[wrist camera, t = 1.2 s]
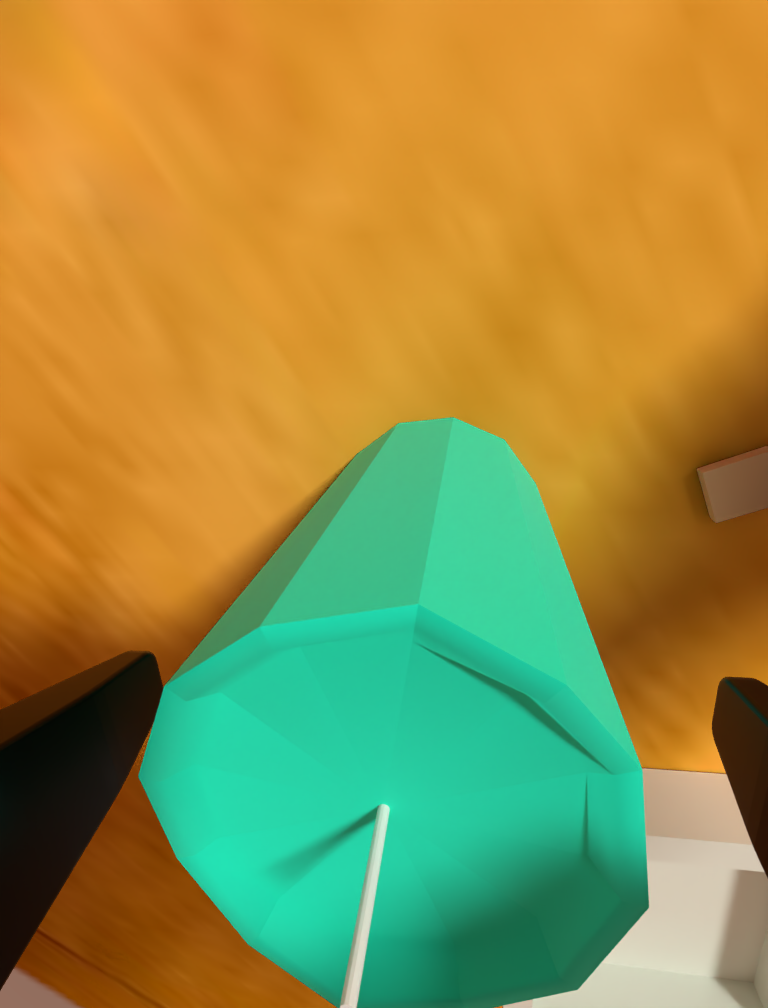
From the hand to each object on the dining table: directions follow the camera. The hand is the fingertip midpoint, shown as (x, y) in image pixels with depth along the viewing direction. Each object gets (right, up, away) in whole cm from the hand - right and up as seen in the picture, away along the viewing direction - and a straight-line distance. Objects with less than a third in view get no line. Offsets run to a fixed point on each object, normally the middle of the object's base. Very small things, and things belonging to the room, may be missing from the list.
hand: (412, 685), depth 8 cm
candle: (+1, +3, +7) cm, 8 cm away
